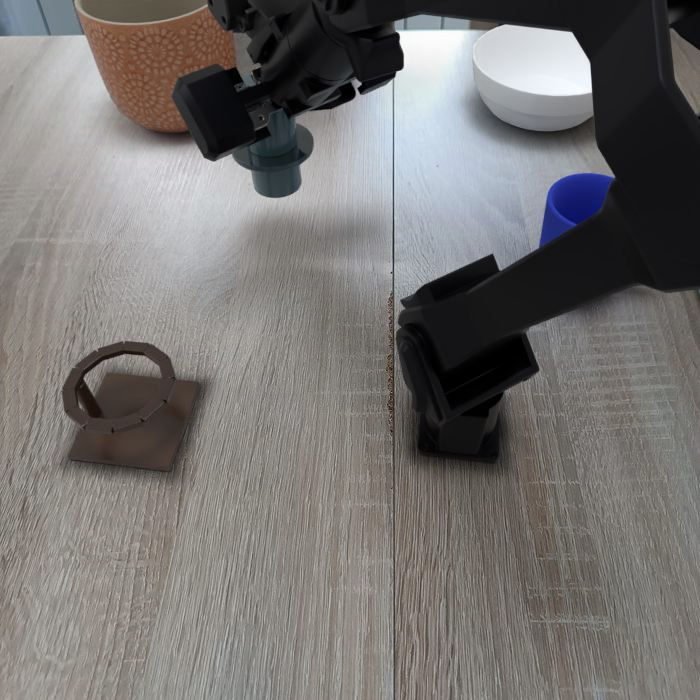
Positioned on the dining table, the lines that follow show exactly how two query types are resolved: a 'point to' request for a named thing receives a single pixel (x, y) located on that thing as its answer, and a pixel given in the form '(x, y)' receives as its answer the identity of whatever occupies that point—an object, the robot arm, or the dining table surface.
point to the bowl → (533, 77)
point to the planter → (152, 52)
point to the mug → (572, 203)
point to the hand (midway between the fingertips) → (261, 117)
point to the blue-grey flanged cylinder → (277, 154)
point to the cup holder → (129, 411)
